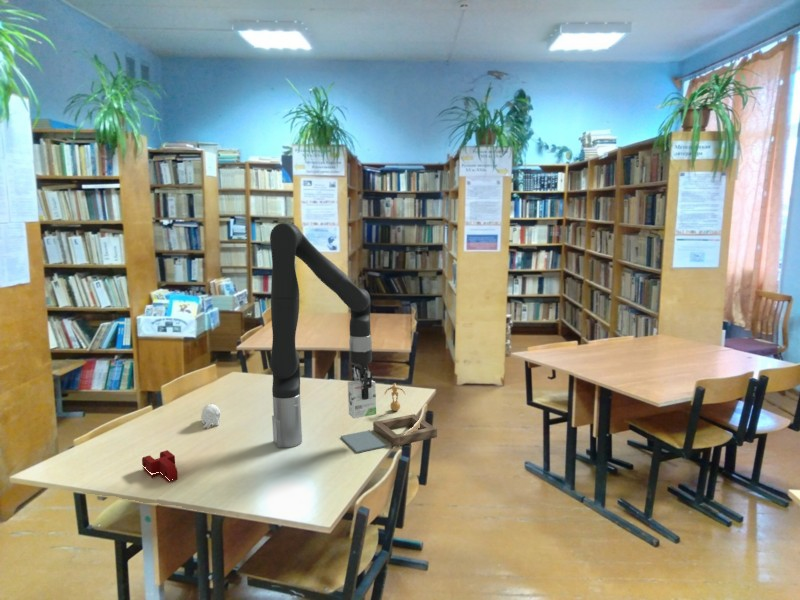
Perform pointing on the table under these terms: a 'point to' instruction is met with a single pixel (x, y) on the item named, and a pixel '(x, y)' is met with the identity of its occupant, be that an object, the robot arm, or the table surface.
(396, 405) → the figurine
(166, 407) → the table surface
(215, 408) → the white domed ornament
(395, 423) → the holder
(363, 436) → the mat
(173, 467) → the dark red block
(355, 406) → the ink box
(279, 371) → the robot arm
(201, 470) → the table surface
